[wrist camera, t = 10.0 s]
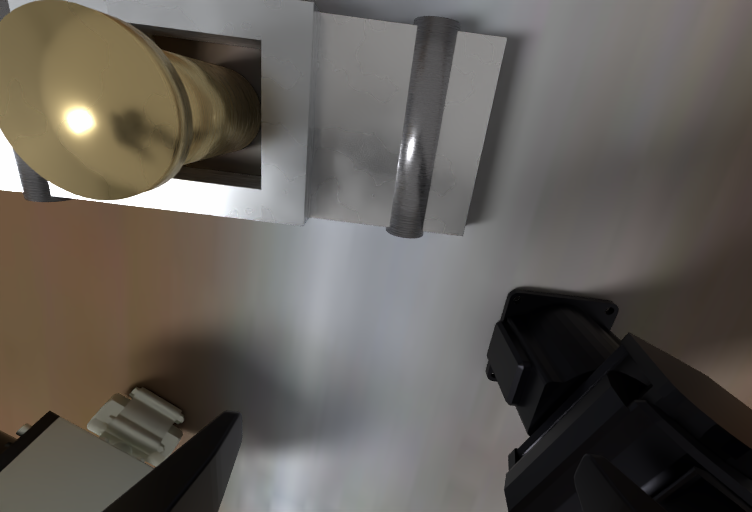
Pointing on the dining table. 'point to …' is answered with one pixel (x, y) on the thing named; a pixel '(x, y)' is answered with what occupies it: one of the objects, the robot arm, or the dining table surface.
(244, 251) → the dining table surface
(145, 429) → the pneumatic valve
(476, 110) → the silver plate
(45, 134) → the brass knob
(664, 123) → the dining table surface
